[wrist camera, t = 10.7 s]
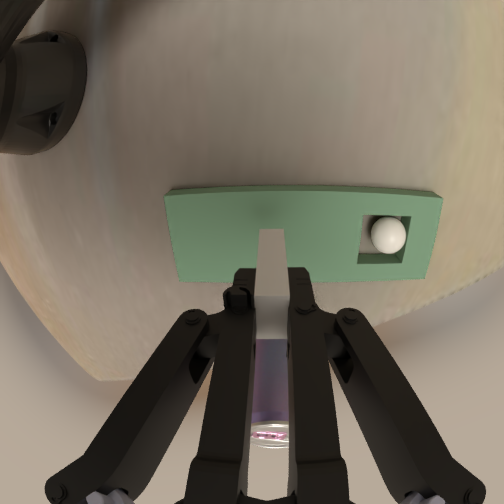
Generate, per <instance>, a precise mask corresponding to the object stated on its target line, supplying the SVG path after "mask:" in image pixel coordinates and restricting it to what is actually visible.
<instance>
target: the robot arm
mask: <svg viewBox="0 0 504 504" xmlns="http://www.w3.org/2000/svg"><path fill="white" fill-rule="evenodd" d="M43 2H44V0H0V153H8V154H18V155H32V154H35V153H39V152H42V151H45V150H47V149H49V148H51V147H53V146H54V145H55V144H57V143H58V142H59V141H60V140H61V139H62V138H63V136H64V135H65V134H66V133H67V131H68V130H69V128H70V126H71V125H72V123H73V121H74V119H75V117H76V115H77V112H78V110H79V107H80V104H81V101H82V97H83V93H84V89H85V83H86V58H85V53H84V50H83V48H82V45H81V44H80V42H79V41H78V39H77V38H75V37H74V36H73V35H71V34H68V33H64V32H59V31H45V32H41V33H37V34H33V35H30V36H26V37H23V38H20V39H17V40H15V39H16V38H17V36H18V35H19V33H20V32H21V30H22V29H23V28H24V26H25V25H26V23H27V22H28V21H29V19H30V18H31V17H32V15H33V14H34V13H35V11H36V10H37V9H38V8H39V6H40V5H41V4H42V3H43ZM233 280H234V281H233V286H232V287H229V288H228V289H226V290H225V291H224V293H223V300H224V307H225V309H224V310H223V311H221V312H219V313H216V314H211V315H207V314H206V313H205V312H204V311H202V310H200V309H191V310H188V311H185V312H183V313H182V314H181V315H180V316H179V318H178V319H177V321H176V322H175V323H174V325H173V326H172V328H171V329H170V330H169V332H168V333H167V334H166V336H165V337H164V339H163V340H162V341H161V343H160V344H159V346H158V347H157V348H156V350H155V351H154V353H153V354H152V355H151V357H150V358H149V360H148V361H147V363H146V364H145V365H144V367H143V368H142V370H141V371H140V372H139V374H138V375H137V377H136V378H135V380H134V381H133V382H132V384H131V385H130V387H129V388H128V390H127V391H126V393H125V394H124V395H123V397H122V398H121V400H120V401H119V403H118V404H117V406H116V407H115V408H114V410H113V411H112V413H111V414H110V416H109V417H108V419H107V420H106V422H105V423H104V425H103V426H102V428H101V429H100V431H99V432H98V434H97V435H96V437H95V438H94V440H93V441H92V443H91V444H90V446H89V447H88V449H87V450H86V452H85V453H84V455H82V456H81V457H80V458H79V459H77V460H75V461H74V462H72V463H71V464H70V465H68V466H67V467H65V468H64V469H62V470H61V471H59V472H58V473H56V474H55V475H53V476H52V477H50V478H49V479H48V480H47V481H46V484H45V494H46V496H47V499H48V500H49V502H50V503H51V504H134V502H133V501H134V500H135V499H136V498H137V497H138V496H139V495H140V494H141V493H142V492H143V490H144V489H145V488H146V486H147V485H148V483H149V482H150V480H151V478H152V476H153V475H154V473H155V471H156V469H157V467H158V465H159V464H160V462H161V460H162V458H163V456H164V454H165V453H166V451H167V449H168V447H169V445H170V443H171V442H172V440H173V438H174V436H175V434H176V432H177V430H178V429H179V427H180V425H181V423H182V421H183V419H184V417H185V415H186V414H187V412H188V410H189V408H190V406H191V404H192V402H193V400H194V398H195V397H196V394H197V393H198V391H199V389H200V387H201V385H202V383H203V381H204V379H205V377H206V375H207V374H208V372H209V370H210V368H211V366H212V364H213V362H214V365H213V371H212V377H211V381H210V386H209V392H208V397H207V402H206V409H205V413H204V419H203V424H202V431H201V435H200V441H199V447H198V452H197V455H196V457H195V458H194V459H193V460H192V462H191V465H190V469H189V474H188V480H187V485H186V491H185V497H184V499H182V500H180V501H178V502H176V503H175V504H355V503H353V502H351V501H350V500H349V487H348V475H347V467H346V464H345V460H344V459H343V458H342V457H341V454H340V444H339V437H338V436H339V435H338V426H337V418H336V410H335V402H334V395H333V389H332V381H331V374H330V368H329V362H330V364H331V367H332V369H333V370H334V373H335V375H336V377H337V379H338V381H339V383H340V385H341V387H342V390H343V392H344V394H345V396H346V398H347V400H348V402H349V405H350V407H351V409H352V411H353V413H354V415H355V418H356V420H357V422H358V424H359V426H360V429H361V431H362V433H363V435H364V437H365V440H366V442H367V444H368V446H369V448H370V451H371V452H372V455H373V457H374V459H375V462H376V464H377V466H378V468H379V471H380V473H381V475H382V478H383V480H384V482H385V484H386V486H387V488H388V490H389V492H390V494H391V495H392V497H393V498H394V499H395V501H396V502H397V503H398V504H482V503H483V501H484V499H485V495H486V489H485V485H484V484H483V483H482V482H481V481H480V480H479V479H478V478H477V477H475V476H474V475H473V474H472V473H470V472H469V471H468V470H467V469H465V468H464V467H463V466H462V465H461V464H459V463H458V462H457V461H456V460H455V459H453V458H452V456H451V454H450V452H449V451H448V449H447V447H446V445H445V443H444V441H443V440H442V438H441V436H440V434H439V432H438V431H437V429H436V427H435V426H434V424H433V422H432V421H431V418H430V417H429V415H428V414H427V412H426V410H425V409H424V407H423V405H422V403H421V402H420V400H419V398H418V397H417V395H416V393H415V392H414V390H413V389H412V387H411V385H410V384H409V382H408V381H407V379H406V377H405V376H404V374H403V373H402V371H401V370H400V368H399V367H398V365H397V364H396V362H395V360H394V359H393V357H392V356H391V354H390V353H389V351H388V350H387V348H386V347H385V345H384V344H383V342H382V341H381V339H380V338H379V336H378V335H377V333H376V332H375V331H374V329H373V328H372V326H371V325H370V323H369V322H368V320H367V319H366V318H365V316H364V315H363V314H362V313H361V312H360V311H359V310H356V309H353V308H344V309H341V310H339V311H338V312H337V314H332V313H328V312H325V311H323V310H321V309H320V308H319V307H318V305H317V304H316V303H315V300H314V294H313V289H312V285H311V280H310V274H309V272H308V271H307V270H306V268H305V267H287V258H286V248H285V238H284V229H260V230H259V243H258V255H257V267H256V268H239V269H238V270H237V271H236V273H235V274H234V279H233ZM256 339H287V352H286V357H287V366H288V409H289V477H288V489H287V497H283V498H280V499H275V500H269V501H265V500H260V499H256V498H252V497H248V496H247V488H248V482H247V481H248V480H247V479H248V463H249V449H250V435H251V421H252V407H253V392H254V376H255V360H256ZM328 360H329V362H328Z"/></svg>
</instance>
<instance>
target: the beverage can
mask: <svg viewBox="0 0 504 504" xmlns="http://www.w3.org/2000/svg"><path fill="white" fill-rule="evenodd" d="M286 352H287V339H256V360H255V376H254V392H253V407H252V421H251V435H250V444H252V445H255V446H259V447H265V448H286V447H289V409H288V366H287V357H286Z"/></svg>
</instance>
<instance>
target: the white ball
mask: <svg viewBox="0 0 504 504" xmlns="http://www.w3.org/2000/svg"><path fill="white" fill-rule="evenodd" d="M371 240H372V243H373V245H374V246H375V247H376V249H377V250H379V251H380V252H382V253H386V254H391V253H395V252H397V251H399V250H400V249H401V248H402V246H403V245H404V243H405V240H406V231H405V228H404V226H403V224H402V223H401V222H400V221H399V220H398V219H396V218H394V217H390V216H386V217H382V218H380V219H378V220H377V221H376V222H375V223H374V225H373V227H372V230H371Z"/></svg>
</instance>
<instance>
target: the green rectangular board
mask: <svg viewBox="0 0 504 504" xmlns="http://www.w3.org/2000/svg"><path fill="white" fill-rule="evenodd" d="M164 203H165V209H166V215H167V221H168V226H169V232H170V237H171V243H172V248H173V253H174V258H175V263H176V267H177V272H178V277H179V281H181V282H232V283H233V281H234V280H233V279H234V274H235V273H236V271H237V270H238V269H239V268H256V267H257V255H258V243H259V230H260V229H284V238H285V248H286V258H287V267H305V268H306V270H307V271H308V272H309V274H310V280H311V282H358V281H388V280H411V279H425V276H426V272H427V269H428V265H429V262H430V258H431V254H432V250H433V246H434V242H435V238H436V233H437V229H438V224H439V219H440V214H441V208H442V203H443V198H442V197H440V196H439V195H437V194H435V193H434V192H426V191H415V190H404V189H390V188H375V187H355V186H324V185H260V186H229V187H208V188H192V189H178V190H171V191H169V192H168V193H167V194H166V195H164ZM363 215H392V216H402V219H401V223H402V224H403V226H404V228H405V231H406V240H405V243H404V245H403V246H402V248H401V249H400V250H399V251H397V252H395V254H358V253H359V246H360V239H361V231H362V222H363Z"/></svg>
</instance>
